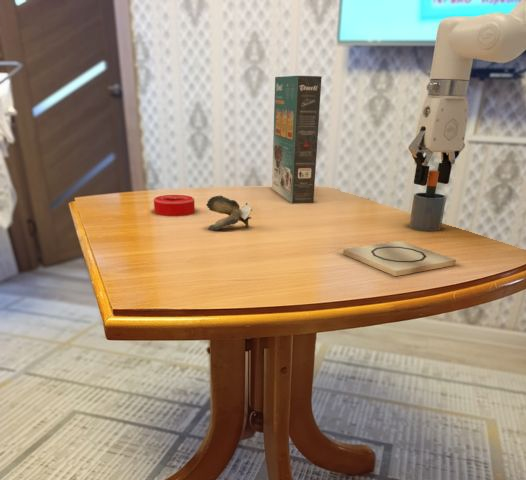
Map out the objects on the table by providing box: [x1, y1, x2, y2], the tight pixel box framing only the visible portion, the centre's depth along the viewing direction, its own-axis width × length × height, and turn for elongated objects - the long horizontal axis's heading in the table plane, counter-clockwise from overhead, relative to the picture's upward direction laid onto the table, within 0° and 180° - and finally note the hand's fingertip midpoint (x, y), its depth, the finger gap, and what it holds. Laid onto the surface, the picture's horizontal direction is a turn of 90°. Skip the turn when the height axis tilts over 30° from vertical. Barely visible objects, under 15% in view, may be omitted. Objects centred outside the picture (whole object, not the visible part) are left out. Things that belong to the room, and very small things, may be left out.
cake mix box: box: [271, 75, 323, 204], centre depth 139 cm, size 22×6×30 cm, turn 13°
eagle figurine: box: [206, 195, 253, 231], centre depth 109 cm, size 8×7×9 cm
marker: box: [425, 169, 439, 198], centre depth 111 cm, size 2×2×12 cm
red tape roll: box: [153, 194, 196, 217], centre depth 123 cm, size 10×10×3 cm
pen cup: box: [408, 192, 447, 232], centre depth 113 cm, size 7×7×7 cm
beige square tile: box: [342, 240, 457, 277], centre depth 91 cm, size 14×14×1 cm
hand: (431, 183), depth 110 cm, fingers open, 5 cm apart
